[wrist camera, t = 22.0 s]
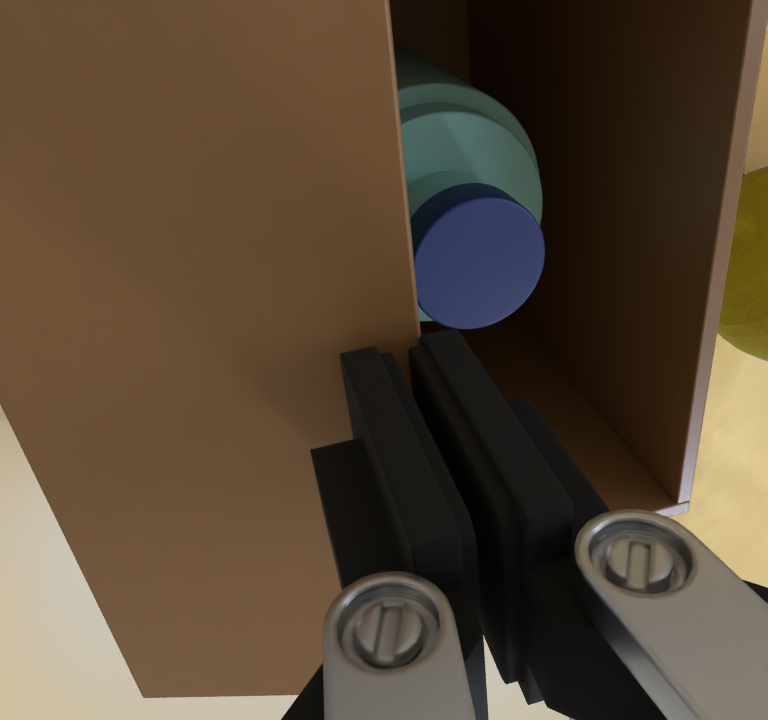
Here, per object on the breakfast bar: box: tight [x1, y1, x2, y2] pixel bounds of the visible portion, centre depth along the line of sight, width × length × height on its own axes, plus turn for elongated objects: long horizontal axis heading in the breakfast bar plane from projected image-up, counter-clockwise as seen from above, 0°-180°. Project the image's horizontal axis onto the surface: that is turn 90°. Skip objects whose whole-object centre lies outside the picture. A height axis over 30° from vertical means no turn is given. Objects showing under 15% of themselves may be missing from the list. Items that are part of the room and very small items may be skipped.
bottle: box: [393, 42, 545, 329], centre depth 21 cm, size 6×6×12 cm
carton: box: [389, 0, 768, 517], centre depth 20 cm, size 14×15×14 cm
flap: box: [0, 0, 421, 698], centre depth 12 cm, size 7×15×1 cm, turn 6°
